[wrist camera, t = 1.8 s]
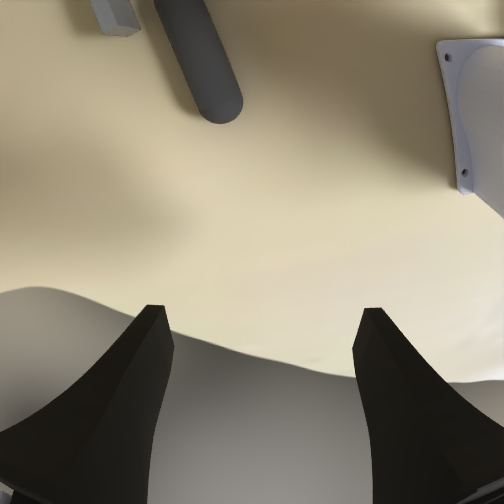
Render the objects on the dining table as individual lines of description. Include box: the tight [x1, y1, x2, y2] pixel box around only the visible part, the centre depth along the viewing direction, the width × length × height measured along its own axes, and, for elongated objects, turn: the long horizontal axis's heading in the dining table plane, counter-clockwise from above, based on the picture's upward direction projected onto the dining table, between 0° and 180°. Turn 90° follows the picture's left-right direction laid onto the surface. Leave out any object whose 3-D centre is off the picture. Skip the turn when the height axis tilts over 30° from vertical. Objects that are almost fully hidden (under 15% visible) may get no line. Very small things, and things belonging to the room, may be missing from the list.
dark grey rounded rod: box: [154, 0, 243, 124], centre depth 13 cm, size 8×2×2 cm, turn 20°
